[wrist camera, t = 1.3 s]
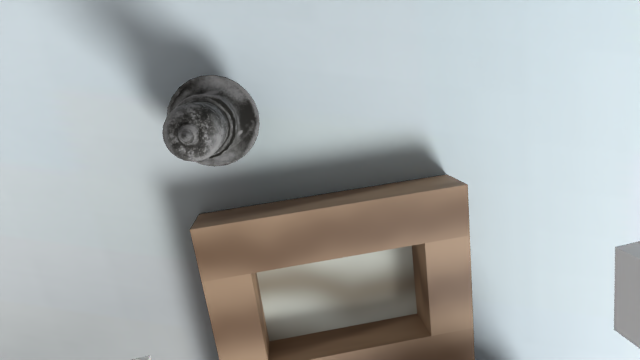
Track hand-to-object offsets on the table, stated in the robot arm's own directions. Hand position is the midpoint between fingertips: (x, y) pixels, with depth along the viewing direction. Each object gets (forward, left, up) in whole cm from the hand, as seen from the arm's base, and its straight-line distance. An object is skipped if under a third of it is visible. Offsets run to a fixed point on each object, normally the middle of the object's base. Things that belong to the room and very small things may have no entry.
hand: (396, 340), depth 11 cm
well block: (+9, +1, -20) cm, 22 cm away
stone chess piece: (-6, -6, -21) cm, 22 cm away
